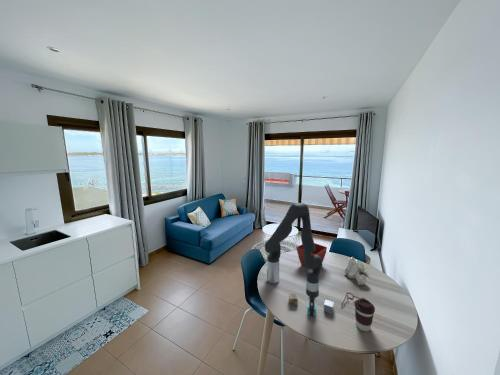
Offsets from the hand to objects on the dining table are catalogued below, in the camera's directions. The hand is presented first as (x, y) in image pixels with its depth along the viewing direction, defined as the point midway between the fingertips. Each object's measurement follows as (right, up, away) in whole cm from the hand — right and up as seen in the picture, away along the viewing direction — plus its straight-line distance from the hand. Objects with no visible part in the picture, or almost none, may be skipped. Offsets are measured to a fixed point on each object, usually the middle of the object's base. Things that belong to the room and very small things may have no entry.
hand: (311, 310), depth 126 cm
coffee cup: (+26, -3, -11) cm, 28 cm away
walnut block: (-10, 0, +9) cm, 13 cm away
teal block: (0, -1, 0) cm, 1 cm away
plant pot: (+16, +8, +53) cm, 56 cm away
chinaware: (+46, +6, +35) cm, 58 cm away
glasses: (+28, 0, +4) cm, 29 cm away
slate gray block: (+11, -1, +2) cm, 11 cm away
